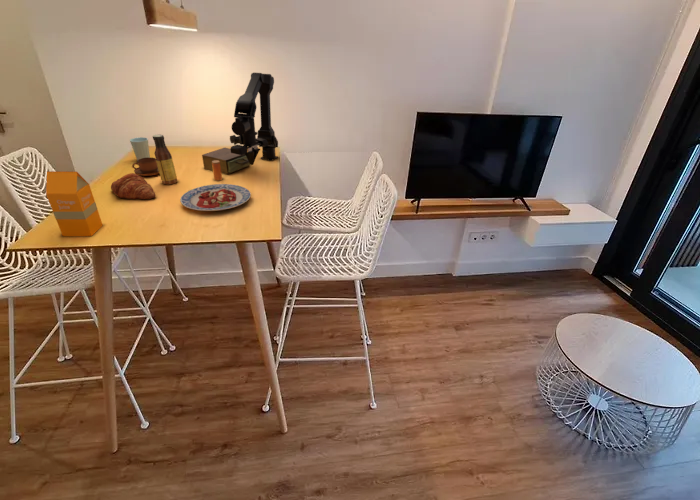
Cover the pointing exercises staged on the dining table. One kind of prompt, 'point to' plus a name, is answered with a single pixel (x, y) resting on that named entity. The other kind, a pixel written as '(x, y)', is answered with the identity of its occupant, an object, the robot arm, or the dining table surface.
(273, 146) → the robot arm
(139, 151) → the cup
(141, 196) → the pastry
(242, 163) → the drawer
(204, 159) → the cabinet
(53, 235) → the dining table surface
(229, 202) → the ceramic plate
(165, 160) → the sauce bottle
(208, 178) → the dining table surface
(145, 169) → the cup and saucer
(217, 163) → the spice jar
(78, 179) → the orange juice
